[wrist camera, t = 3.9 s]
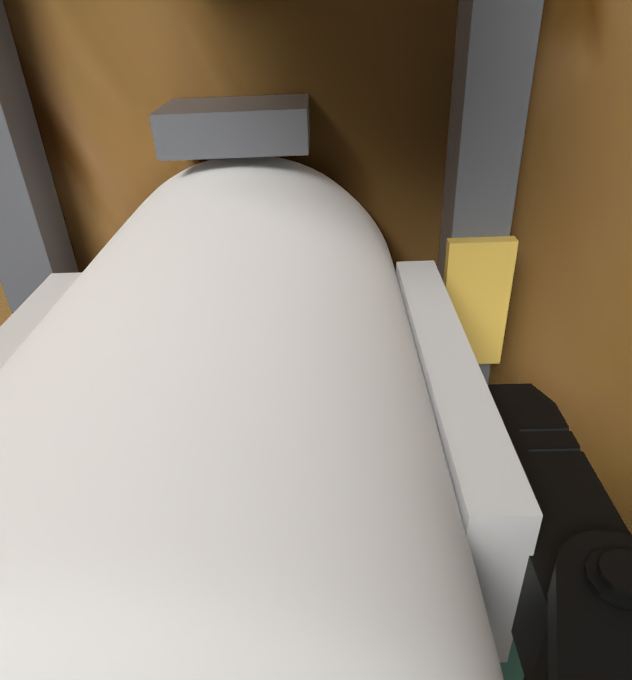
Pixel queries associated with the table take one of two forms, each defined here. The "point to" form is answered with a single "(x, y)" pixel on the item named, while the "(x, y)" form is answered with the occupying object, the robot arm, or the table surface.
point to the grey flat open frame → (293, 140)
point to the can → (232, 455)
